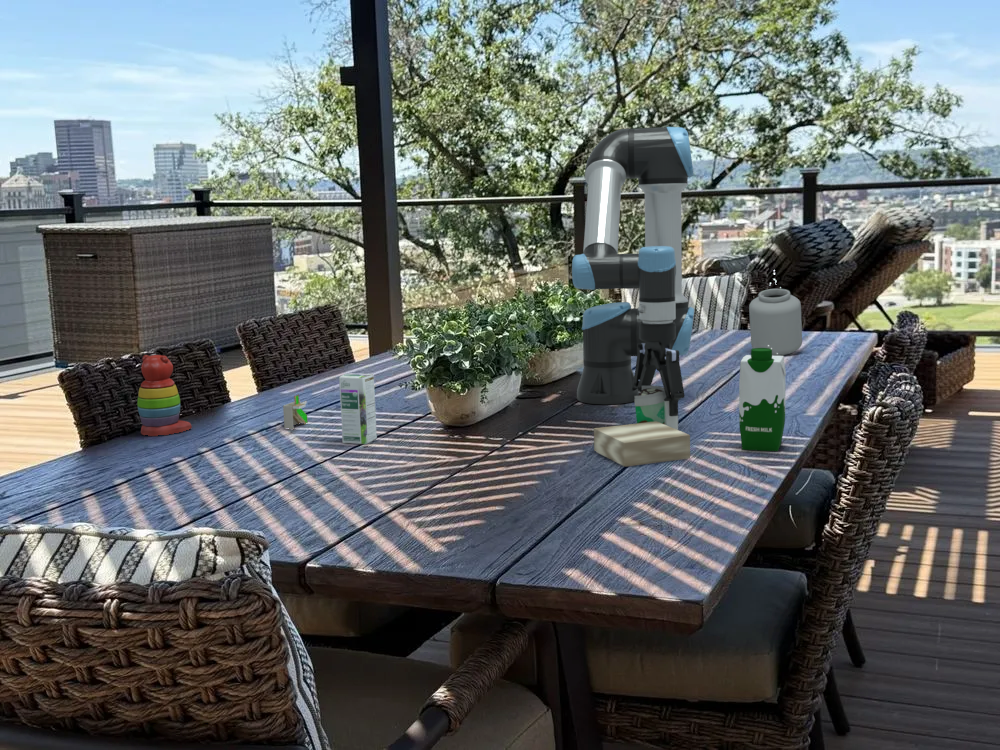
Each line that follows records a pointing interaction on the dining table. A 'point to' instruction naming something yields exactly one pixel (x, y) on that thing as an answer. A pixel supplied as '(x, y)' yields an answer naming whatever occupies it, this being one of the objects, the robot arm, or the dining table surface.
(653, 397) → the food container
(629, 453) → the birch riser block
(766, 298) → the jar
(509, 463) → the dining table surface
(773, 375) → the milk carton
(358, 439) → the syrup box
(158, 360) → the stacking bear
